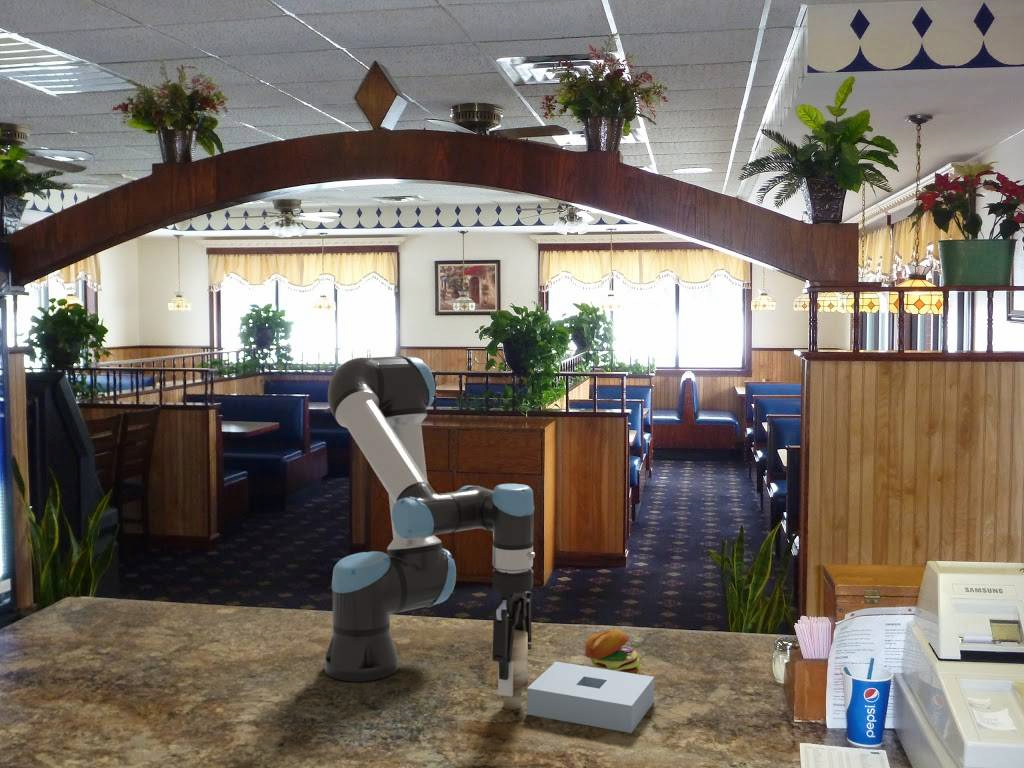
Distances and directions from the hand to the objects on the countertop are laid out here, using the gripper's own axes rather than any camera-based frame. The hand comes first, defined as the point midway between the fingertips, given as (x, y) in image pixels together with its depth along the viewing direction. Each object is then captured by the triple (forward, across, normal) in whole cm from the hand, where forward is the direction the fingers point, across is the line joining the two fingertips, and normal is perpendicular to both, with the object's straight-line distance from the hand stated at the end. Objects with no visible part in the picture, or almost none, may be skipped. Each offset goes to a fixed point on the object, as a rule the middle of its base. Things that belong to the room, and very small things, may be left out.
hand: (512, 688), depth 190 cm
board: (+3, +5, -14) cm, 15 cm away
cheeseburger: (+4, +24, -12) cm, 27 cm away
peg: (+3, 0, 0) cm, 3 cm away
